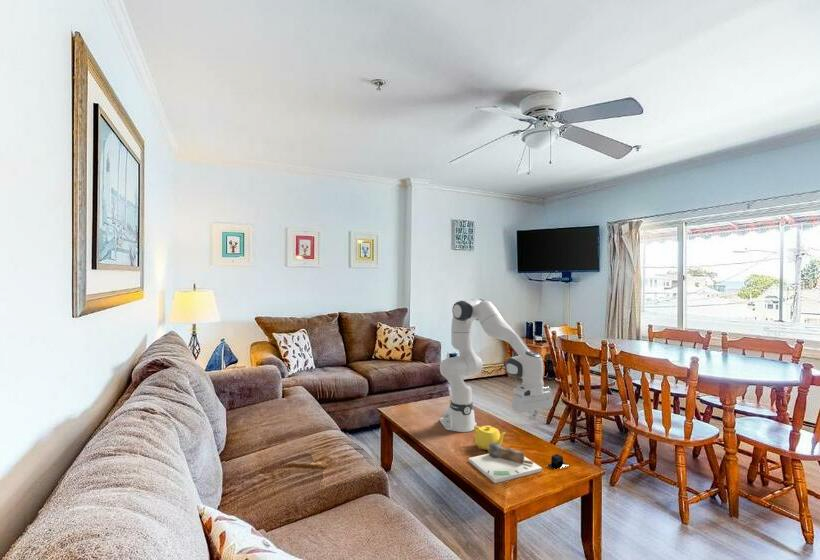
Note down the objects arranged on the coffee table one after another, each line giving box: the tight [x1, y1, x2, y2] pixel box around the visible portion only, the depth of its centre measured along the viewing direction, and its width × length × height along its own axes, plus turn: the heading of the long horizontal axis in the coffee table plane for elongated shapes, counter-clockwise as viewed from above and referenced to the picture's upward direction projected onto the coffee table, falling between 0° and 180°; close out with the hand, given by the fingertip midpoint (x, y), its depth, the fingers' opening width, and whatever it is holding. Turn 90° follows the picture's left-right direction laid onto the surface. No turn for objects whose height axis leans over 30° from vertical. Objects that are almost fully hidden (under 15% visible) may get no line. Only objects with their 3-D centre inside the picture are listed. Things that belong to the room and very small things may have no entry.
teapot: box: [473, 425, 507, 453], centre depth 186 cm, size 18×11×11 cm, turn 45°
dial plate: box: [468, 453, 543, 484], centre depth 169 cm, size 20×24×2 cm
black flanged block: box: [547, 453, 570, 470], centre depth 170 cm, size 12×7×5 cm, turn 120°
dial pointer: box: [488, 443, 534, 465], centre depth 171 cm, size 20×5×4 cm, turn 58°
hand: (532, 419), depth 172 cm, fingers closed
